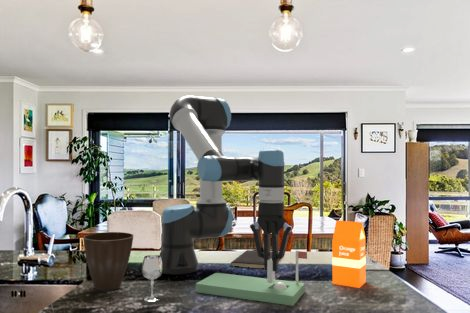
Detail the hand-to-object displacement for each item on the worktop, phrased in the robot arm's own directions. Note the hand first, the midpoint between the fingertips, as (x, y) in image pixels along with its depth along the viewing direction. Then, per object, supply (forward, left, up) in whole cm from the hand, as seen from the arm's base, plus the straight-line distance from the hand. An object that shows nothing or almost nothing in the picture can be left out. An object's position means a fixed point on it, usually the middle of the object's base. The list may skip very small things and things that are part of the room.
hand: (271, 281), depth 120 cm
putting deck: (-7, 0, -4) cm, 7 cm away
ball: (+3, 0, -2) cm, 3 cm away
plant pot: (-49, -14, -4) cm, 51 cm away
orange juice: (+19, +22, -4) cm, 30 cm away
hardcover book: (-18, +39, -5) cm, 43 cm away
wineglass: (-30, -18, -4) cm, 35 cm away
